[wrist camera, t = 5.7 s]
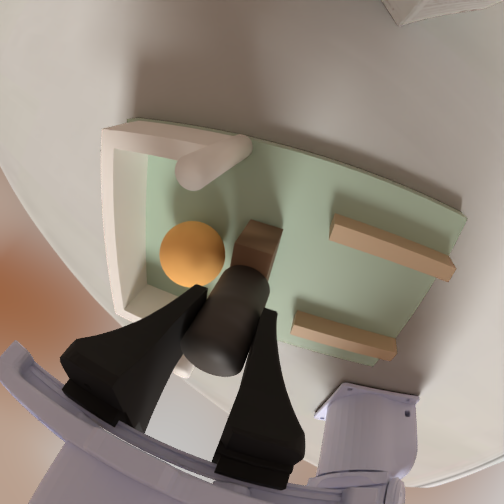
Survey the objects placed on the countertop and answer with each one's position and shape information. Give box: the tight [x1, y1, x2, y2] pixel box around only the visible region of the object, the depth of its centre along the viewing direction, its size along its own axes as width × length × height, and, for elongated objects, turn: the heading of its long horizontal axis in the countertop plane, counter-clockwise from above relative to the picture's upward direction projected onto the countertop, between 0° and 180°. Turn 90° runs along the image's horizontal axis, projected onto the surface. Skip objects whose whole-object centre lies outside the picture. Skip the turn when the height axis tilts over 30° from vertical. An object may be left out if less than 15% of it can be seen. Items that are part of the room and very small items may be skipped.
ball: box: [159, 221, 225, 288], centre depth 17 cm, size 4×4×4 cm
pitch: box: [101, 118, 467, 378], centre depth 16 cm, size 22×14×7 cm, turn 79°
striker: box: [180, 219, 283, 377], centre depth 14 cm, size 3×5×8 cm, turn 169°
